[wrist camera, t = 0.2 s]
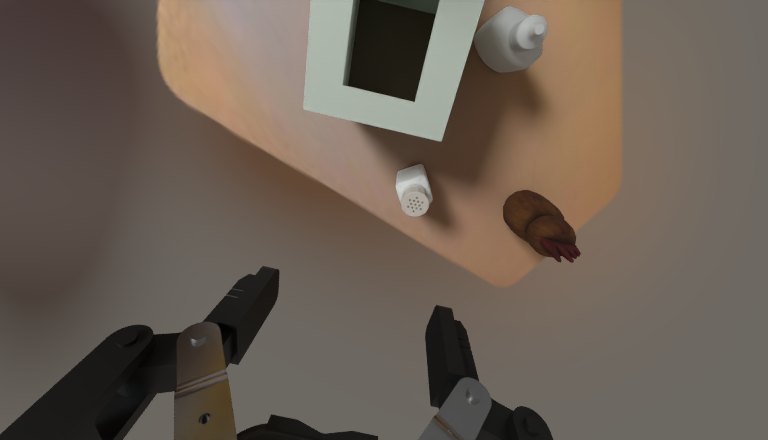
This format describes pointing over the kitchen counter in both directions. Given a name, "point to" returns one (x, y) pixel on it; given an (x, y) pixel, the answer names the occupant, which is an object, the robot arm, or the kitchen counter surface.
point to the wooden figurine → (540, 225)
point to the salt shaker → (414, 190)
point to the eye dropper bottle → (510, 40)
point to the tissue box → (420, 118)
